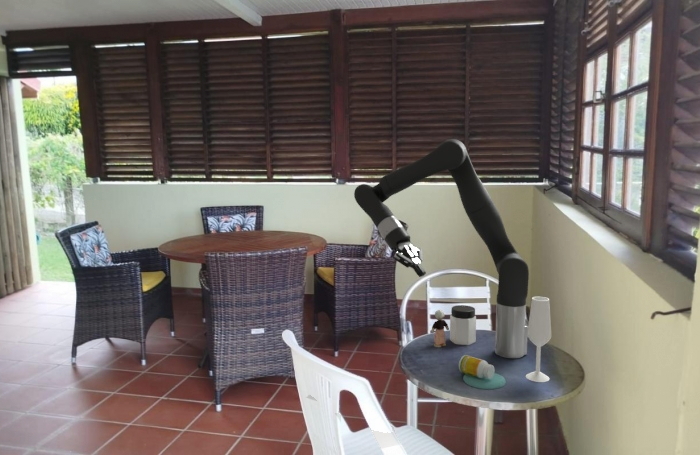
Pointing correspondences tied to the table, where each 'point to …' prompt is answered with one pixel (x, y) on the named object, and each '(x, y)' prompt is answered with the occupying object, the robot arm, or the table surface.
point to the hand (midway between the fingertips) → (423, 275)
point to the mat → (485, 381)
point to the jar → (463, 325)
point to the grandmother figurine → (439, 329)
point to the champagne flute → (539, 332)
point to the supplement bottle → (476, 367)
